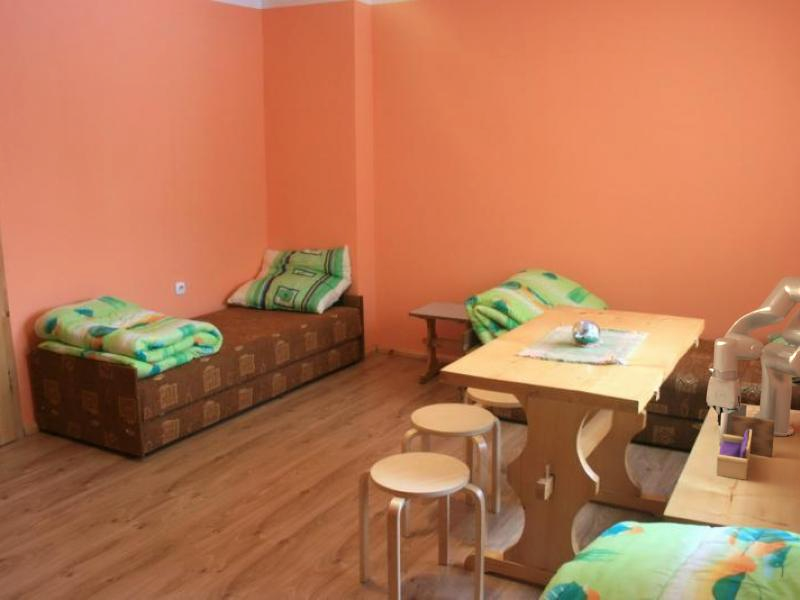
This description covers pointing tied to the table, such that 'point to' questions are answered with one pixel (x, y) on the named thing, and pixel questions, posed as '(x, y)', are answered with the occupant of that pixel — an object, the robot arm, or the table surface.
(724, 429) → the grey panel
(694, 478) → the table surface
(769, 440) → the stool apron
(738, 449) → the toy sofa
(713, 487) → the table surface
